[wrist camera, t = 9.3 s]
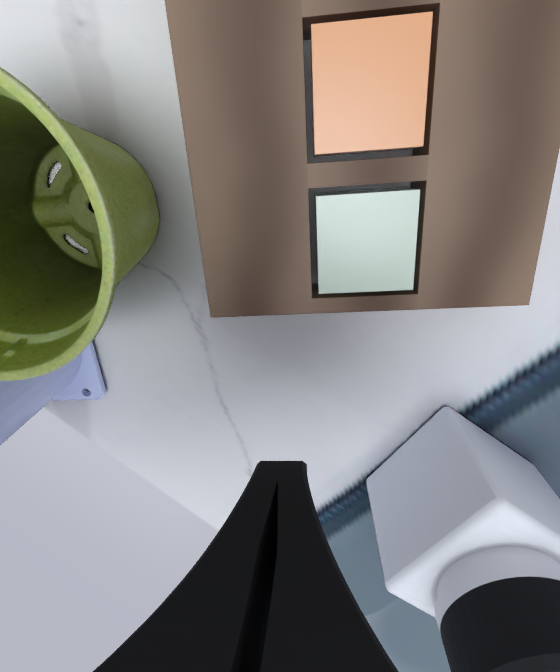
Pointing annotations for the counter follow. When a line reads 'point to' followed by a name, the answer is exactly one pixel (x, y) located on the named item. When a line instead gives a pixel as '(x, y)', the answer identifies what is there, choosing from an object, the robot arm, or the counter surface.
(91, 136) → the plant pot
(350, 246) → the button sage
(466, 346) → the counter surface
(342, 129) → the button terracotta
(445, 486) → the medicine bottle
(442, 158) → the button panel
